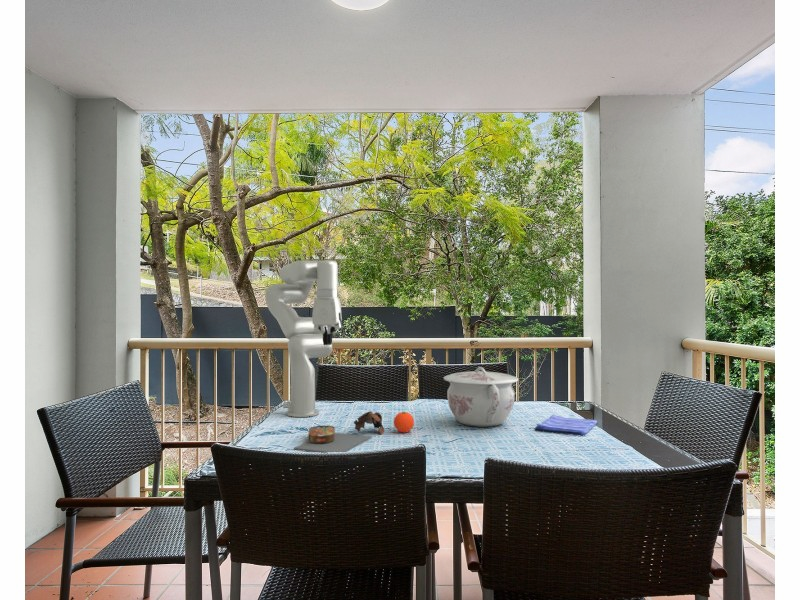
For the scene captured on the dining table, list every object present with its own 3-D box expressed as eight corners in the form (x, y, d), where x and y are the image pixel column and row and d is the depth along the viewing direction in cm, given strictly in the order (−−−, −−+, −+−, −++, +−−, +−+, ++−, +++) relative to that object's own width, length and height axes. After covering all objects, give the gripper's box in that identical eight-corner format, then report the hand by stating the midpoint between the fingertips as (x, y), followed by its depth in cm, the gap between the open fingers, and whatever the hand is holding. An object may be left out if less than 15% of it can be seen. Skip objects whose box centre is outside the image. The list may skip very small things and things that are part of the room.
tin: (310, 425, 197) (335, 423, 198) (310, 435, 197) (335, 432, 198) (307, 436, 182) (334, 433, 183) (307, 446, 182) (334, 443, 183)
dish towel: (533, 432, 202) (533, 424, 202) (551, 419, 223) (551, 412, 223) (584, 438, 194) (584, 429, 194) (598, 424, 215) (598, 416, 215)
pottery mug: (380, 438, 194) (367, 417, 194) (359, 447, 198) (346, 427, 198) (393, 422, 205) (381, 402, 204) (373, 431, 209) (361, 411, 208)
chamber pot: (461, 412, 233) (461, 361, 233) (528, 420, 220) (528, 365, 219) (429, 426, 209) (429, 368, 209) (502, 435, 195) (502, 374, 195)
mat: (293, 449, 178) (293, 447, 178) (329, 433, 199) (329, 432, 199) (340, 454, 172) (340, 453, 172) (372, 437, 193) (372, 436, 193)
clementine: (394, 429, 205) (394, 408, 205) (414, 429, 205) (414, 409, 205) (393, 434, 197) (393, 413, 197) (413, 434, 197) (413, 413, 197)
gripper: (304, 294, 212) (304, 345, 212) (340, 294, 206) (340, 346, 206) (314, 294, 219) (315, 343, 219) (350, 294, 213) (350, 344, 213)
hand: (327, 344), depth 212 cm, fingers closed
